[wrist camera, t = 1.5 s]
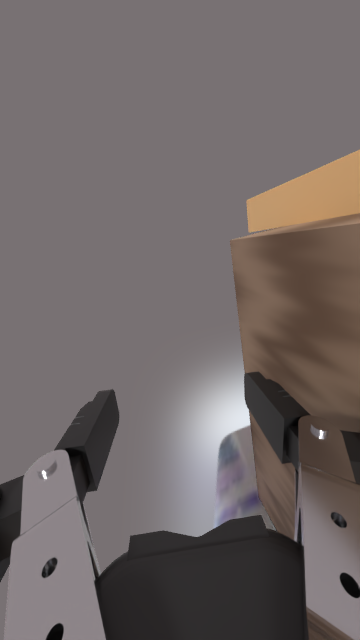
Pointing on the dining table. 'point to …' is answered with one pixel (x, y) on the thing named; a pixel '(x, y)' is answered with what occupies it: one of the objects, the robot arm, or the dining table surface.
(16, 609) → the robot arm
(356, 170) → the ochre block
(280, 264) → the walnut plinth
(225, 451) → the dining table surface
